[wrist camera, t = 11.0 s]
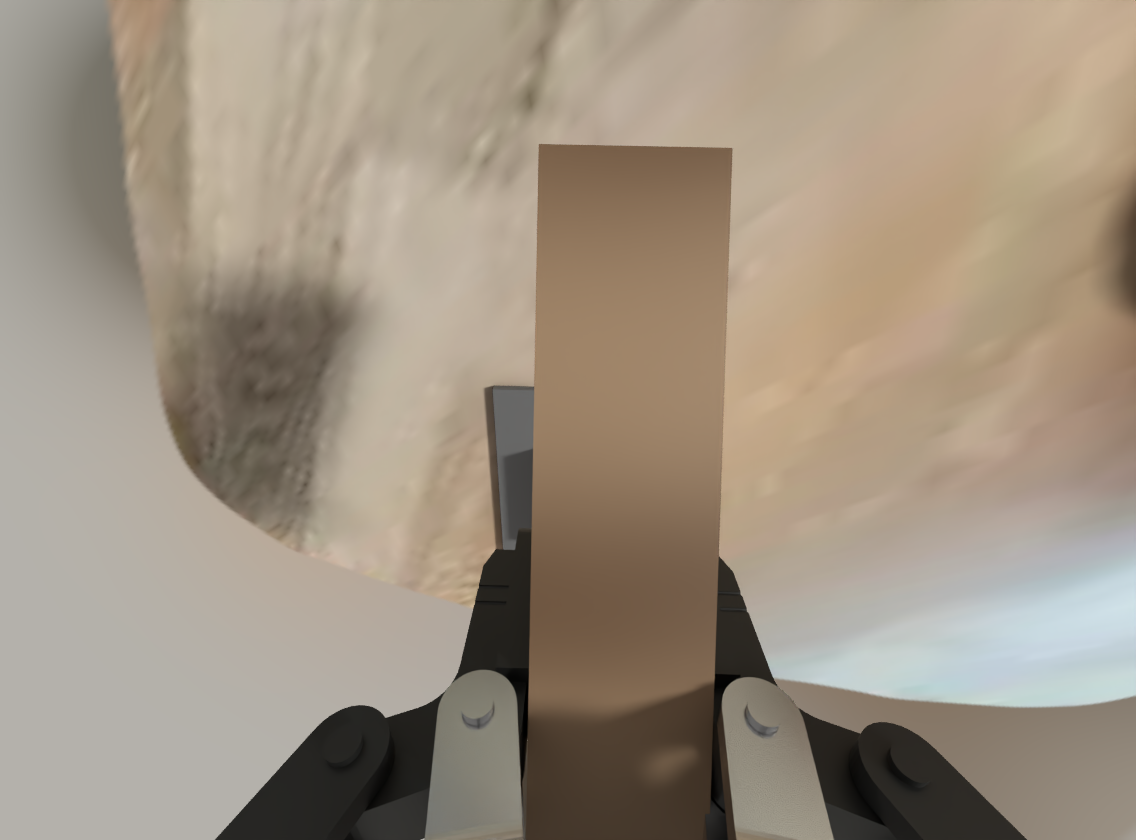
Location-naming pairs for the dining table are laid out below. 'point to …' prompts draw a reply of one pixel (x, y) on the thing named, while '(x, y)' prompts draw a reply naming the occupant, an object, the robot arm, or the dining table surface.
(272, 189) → the dining table surface
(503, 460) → the mat
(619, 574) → the wooden post on base
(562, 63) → the dining table surface
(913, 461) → the dining table surface
